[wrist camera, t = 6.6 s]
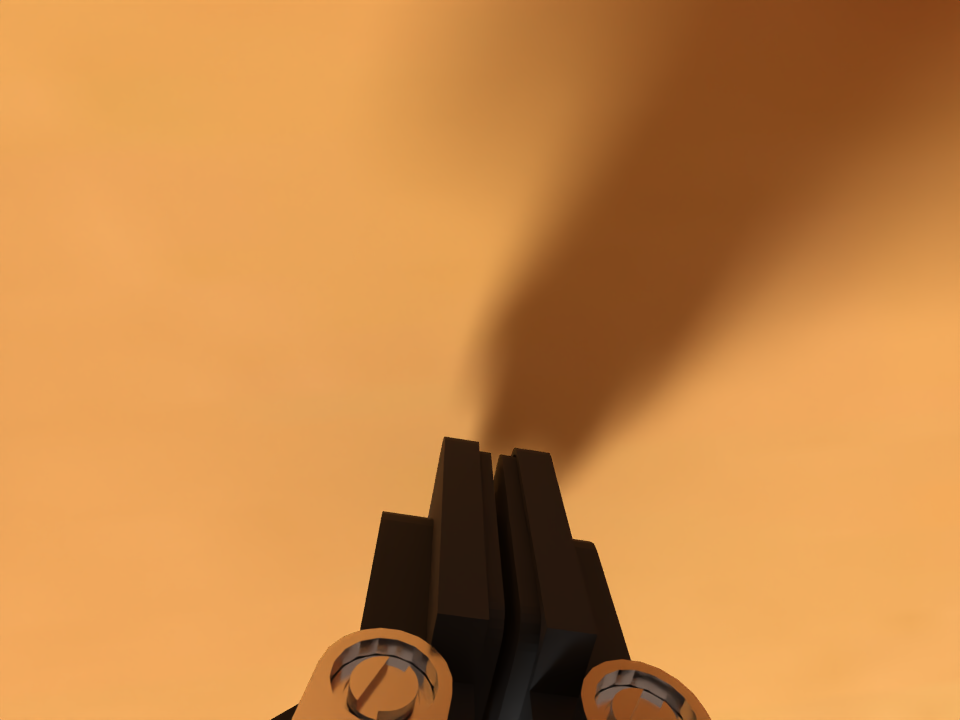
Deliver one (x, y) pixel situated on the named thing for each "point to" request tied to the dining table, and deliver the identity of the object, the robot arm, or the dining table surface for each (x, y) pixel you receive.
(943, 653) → the dining table surface
